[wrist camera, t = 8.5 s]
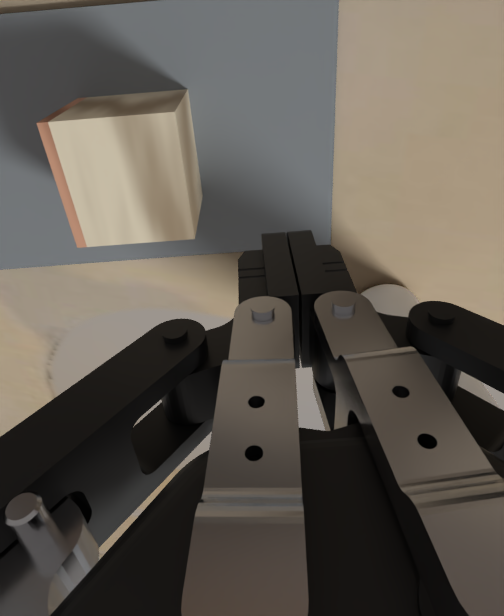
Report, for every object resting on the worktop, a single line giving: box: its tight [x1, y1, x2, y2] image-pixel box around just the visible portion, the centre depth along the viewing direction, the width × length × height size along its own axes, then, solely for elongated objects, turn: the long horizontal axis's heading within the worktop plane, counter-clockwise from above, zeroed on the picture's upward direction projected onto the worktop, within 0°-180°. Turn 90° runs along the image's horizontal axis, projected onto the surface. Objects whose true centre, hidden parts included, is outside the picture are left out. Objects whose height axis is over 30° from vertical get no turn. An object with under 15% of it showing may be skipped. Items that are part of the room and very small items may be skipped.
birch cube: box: [37, 89, 203, 248], centre depth 23 cm, size 6×6×6 cm
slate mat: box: [0, 0, 339, 270], centre depth 26 cm, size 24×14×1 cm, turn 94°
